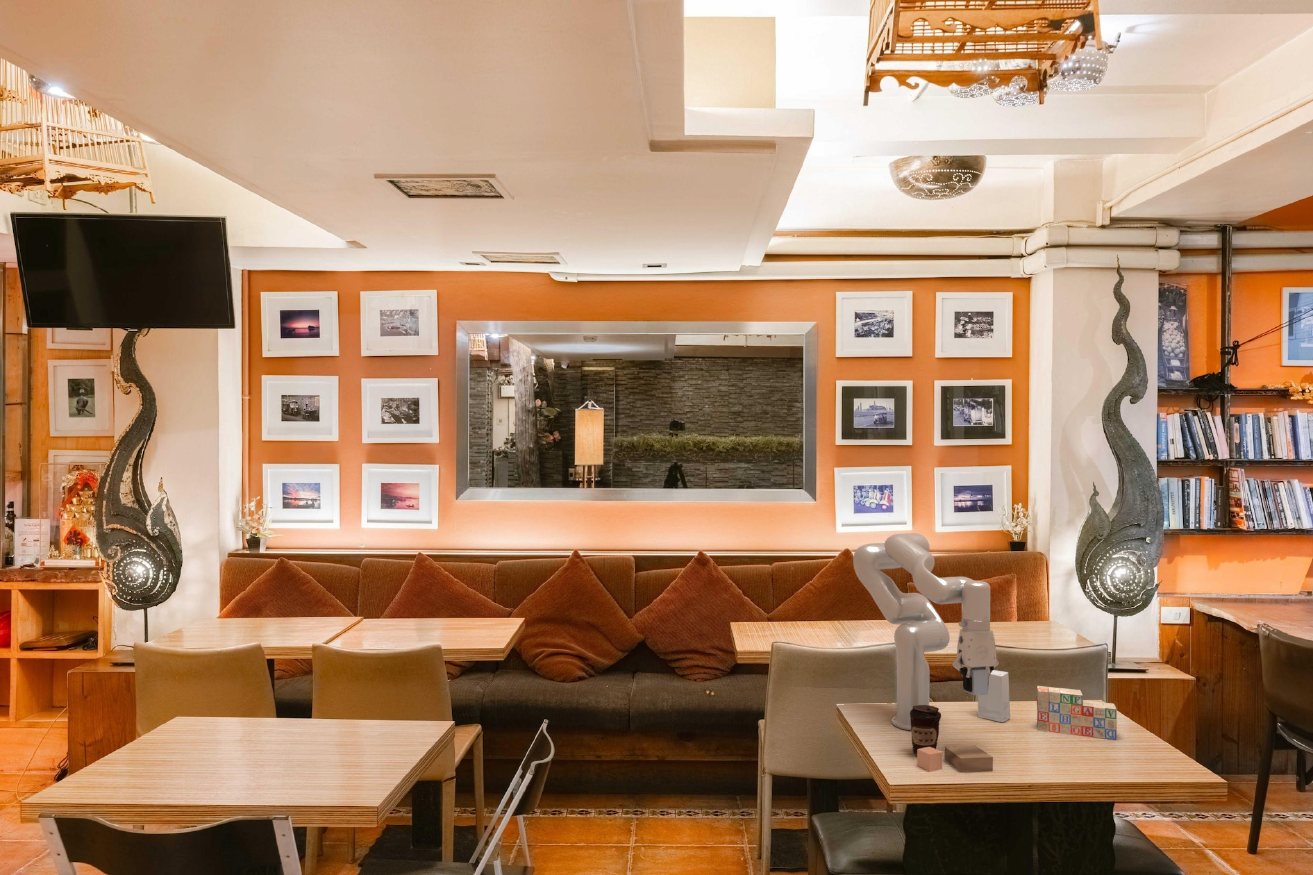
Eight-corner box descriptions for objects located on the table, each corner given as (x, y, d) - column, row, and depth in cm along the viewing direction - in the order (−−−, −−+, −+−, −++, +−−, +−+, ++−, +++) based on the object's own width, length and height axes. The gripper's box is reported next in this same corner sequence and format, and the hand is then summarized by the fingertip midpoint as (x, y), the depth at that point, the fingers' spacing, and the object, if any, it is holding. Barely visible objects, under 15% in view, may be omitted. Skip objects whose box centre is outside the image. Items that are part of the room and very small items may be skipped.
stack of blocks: (1114, 734, 255) (1114, 693, 255) (1116, 740, 249) (1117, 699, 249) (1036, 724, 263) (1036, 684, 263) (1037, 730, 257) (1037, 690, 257)
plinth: (944, 761, 231) (944, 746, 231) (975, 759, 232) (975, 745, 232) (960, 773, 222) (960, 758, 222) (992, 772, 223) (992, 757, 223)
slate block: (963, 691, 240) (964, 666, 240) (977, 690, 241) (977, 665, 241) (973, 695, 235) (973, 670, 235) (987, 694, 236) (987, 669, 236)
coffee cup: (940, 762, 229) (940, 714, 229) (908, 757, 232) (908, 710, 232) (941, 751, 237) (941, 705, 238) (910, 747, 240) (910, 701, 240)
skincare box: (1010, 719, 267) (1010, 672, 267) (1002, 723, 263) (1002, 675, 263) (984, 713, 273) (984, 667, 273) (976, 717, 269) (976, 670, 269)
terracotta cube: (917, 765, 226) (917, 749, 227) (929, 763, 229) (929, 746, 229) (929, 771, 223) (930, 754, 223) (942, 768, 225) (942, 751, 225)
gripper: (957, 629, 233) (957, 695, 232) (1010, 626, 237) (1010, 691, 237) (941, 623, 240) (941, 688, 239) (993, 621, 244) (992, 684, 244)
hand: (975, 689), depth 238 cm, fingers closed on slate block, 4 cm apart
